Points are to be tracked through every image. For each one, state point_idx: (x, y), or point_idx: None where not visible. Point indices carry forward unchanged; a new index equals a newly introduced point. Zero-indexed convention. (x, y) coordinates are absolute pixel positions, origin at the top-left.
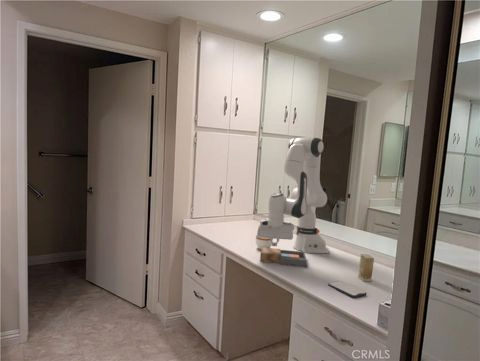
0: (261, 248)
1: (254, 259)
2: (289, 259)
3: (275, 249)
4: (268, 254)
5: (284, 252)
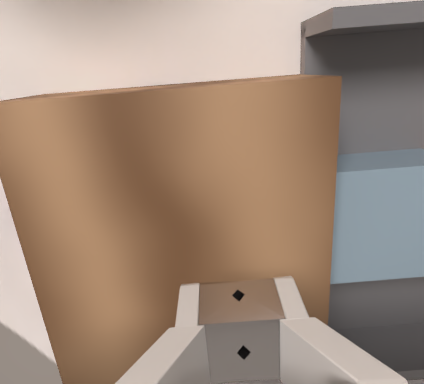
0: (4, 185)
1: (28, 291)
2: (412, 373)
3: (249, 145)
4: None
5: (391, 27)
